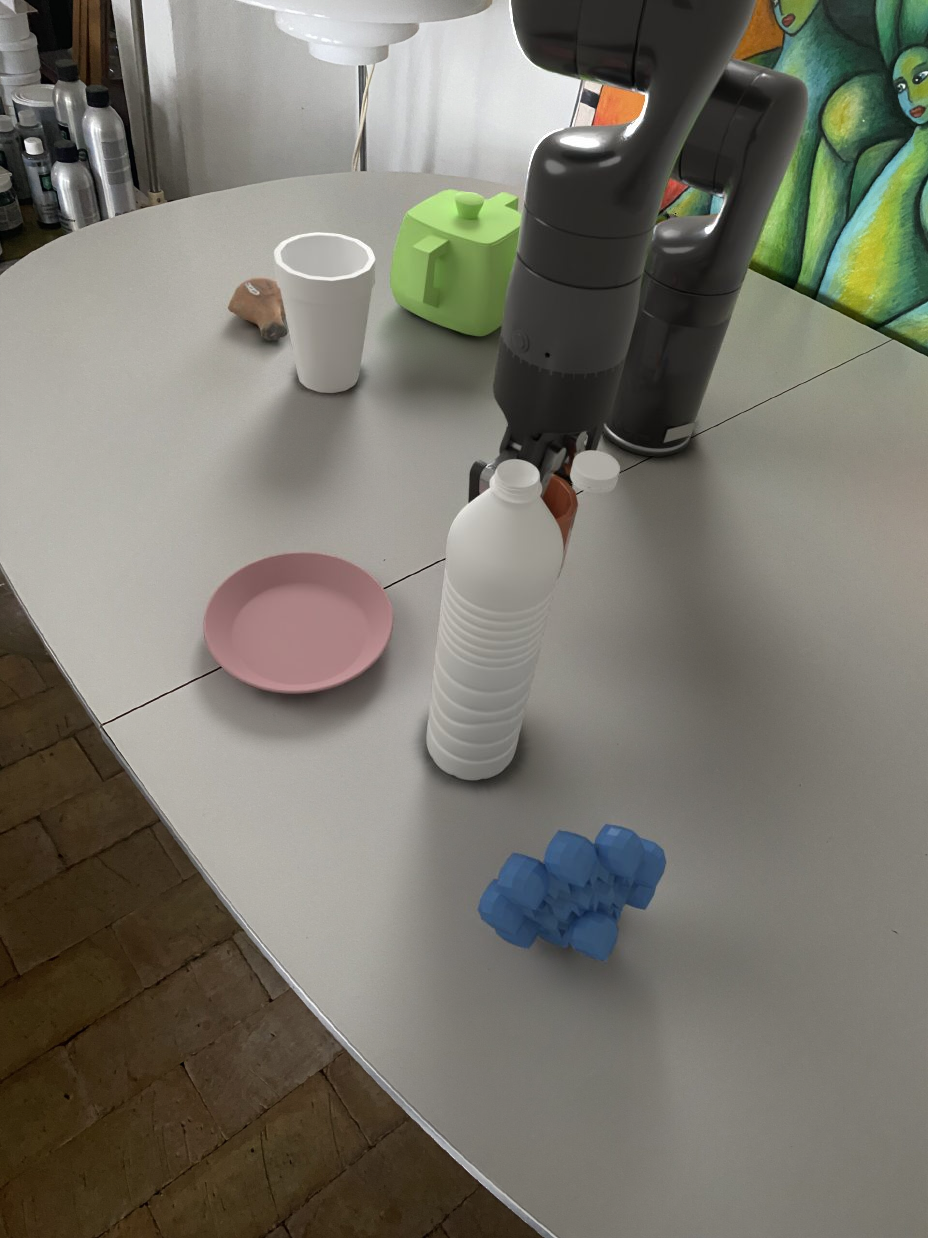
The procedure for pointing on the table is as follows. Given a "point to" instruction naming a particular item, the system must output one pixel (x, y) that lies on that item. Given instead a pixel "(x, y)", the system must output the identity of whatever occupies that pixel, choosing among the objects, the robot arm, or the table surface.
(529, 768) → the table surface
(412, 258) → the teapot
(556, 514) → the terracotta cup
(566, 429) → the robot arm
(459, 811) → the table surface
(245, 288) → the oil lamp
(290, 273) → the foam cup
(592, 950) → the grapes
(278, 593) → the plate
